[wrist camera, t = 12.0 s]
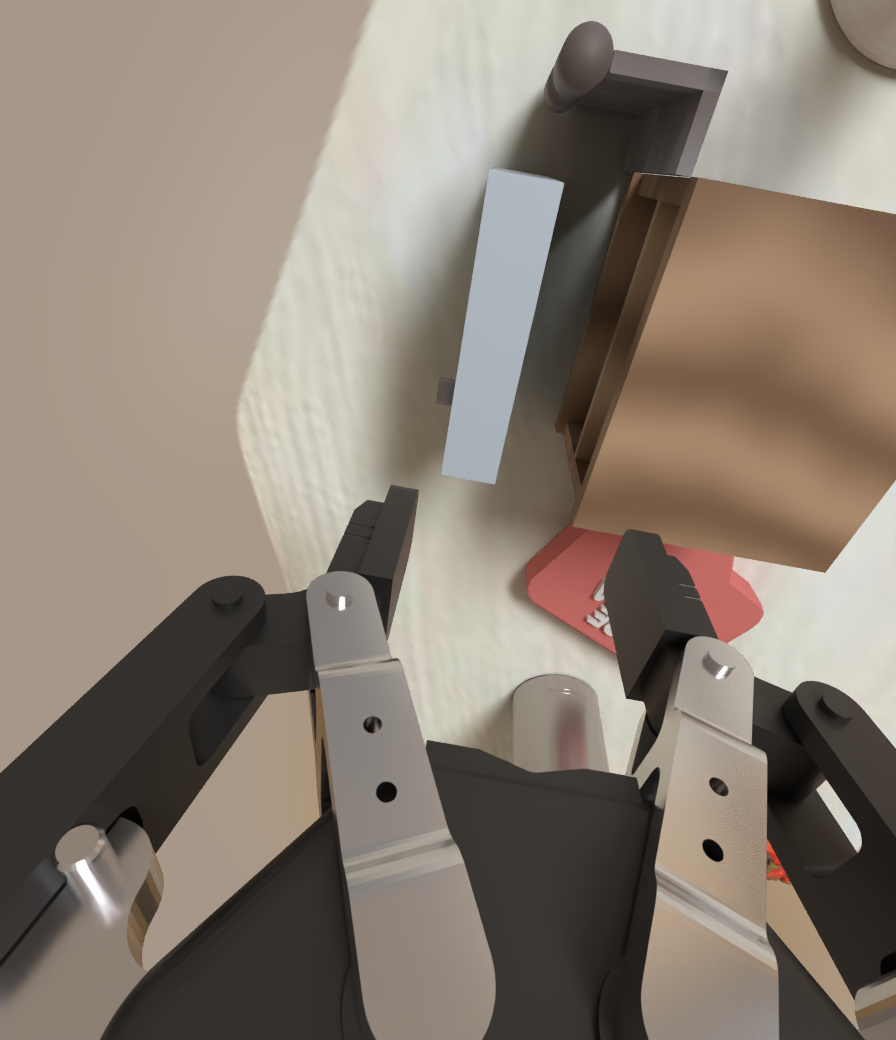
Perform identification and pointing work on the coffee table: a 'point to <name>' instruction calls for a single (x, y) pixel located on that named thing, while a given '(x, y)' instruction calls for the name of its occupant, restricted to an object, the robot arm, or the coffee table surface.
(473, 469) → the door
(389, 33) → the coffee table surface
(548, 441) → the coffee table surface
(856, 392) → the cabinet
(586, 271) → the coffee table surface
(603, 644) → the plaque
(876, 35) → the candlestick
